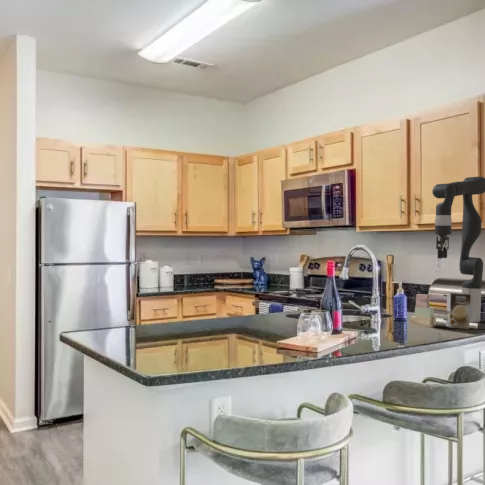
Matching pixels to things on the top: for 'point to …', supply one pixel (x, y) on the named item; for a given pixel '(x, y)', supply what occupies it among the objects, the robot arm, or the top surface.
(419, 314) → the tower mid
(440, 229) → the robot arm
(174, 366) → the top surface
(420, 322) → the tower base
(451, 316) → the coffee box
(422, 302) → the rose block
